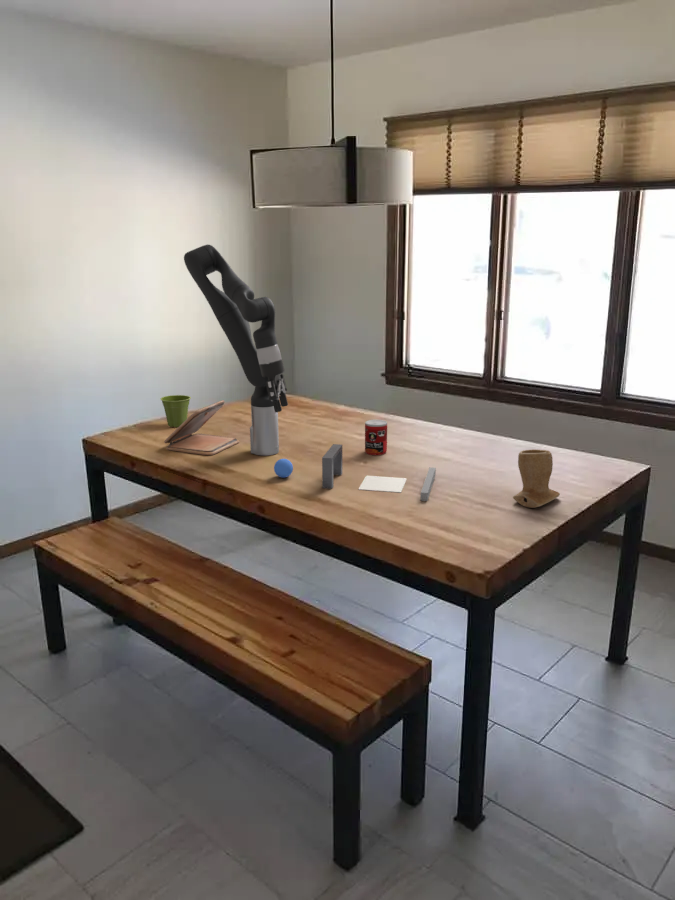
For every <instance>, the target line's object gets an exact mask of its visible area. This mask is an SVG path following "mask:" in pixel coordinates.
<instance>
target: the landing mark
mask: <svg viewBox="0 0 675 900" xmlns="http://www.w3.org/2000/svg"><path fill="white" fill-rule="evenodd" d="M406 482H407V478H405V477H392V476H378V475H377V476H376V475H366V476H365V477H364V479H363V481H362V482H361V483H360V485H359V487H358V490H359V491H360V490H362V491H373V492H374V491H375V492H385V493H386V492H388V493H398V494H399V493H402V491H403V489H404V487H405V485H406Z"/></svg>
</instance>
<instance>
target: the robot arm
mask: <svg viewBox="0 0 675 900" xmlns="http://www.w3.org/2000/svg"><path fill="white" fill-rule="evenodd" d="M183 262H184V264H185V267H186V269H187V271H188V272H189V275H190V276H191V277H192V280H193V281H194V283H196V285H197V287H198V288H199V290H200V291H201V293H202V295H203V296H204V298H205V300H206V301H207V303H208V304H209V307H210V308H211V310H212V313H213V314H214V316H215V318H216V321H217V322H218V324H219V325H220V328H221V329H222V331H223V333H224V334H225V336H226V337H227V340H228V342H229V344H230V345H231V347H232V348H233V351H234V352H235V355H236V356H237V359H238V361H239V363H240V366H241V368H242V371H243V373H244V375H245V377H246V379H247V380H248V382H249V384H250V385H252V386H253V387H254V391H253V393H252V395H251V397H250V412H251V413H250V414H251V415H250V416H251V417H250V419H251V426H249V438H250V439H249V442H250V443H249V444H250V454H254V455H255V456H256V455H257V456H272V455H276V454H279V452H280V450H279V449H280V445H279V443H280V442H279V441H280V439H279V436H280V435H279V413H281V412H282V407H283V408H284V407H288V405H289V404H288V398H287V395H286V394H287V391H288V387H287V384H286V381H285V375H284V374H283V373H285V367H284V361H283V359H282V354H281V351H280V347H279V344H278V341H277V336H276V331H275V330H276V308H275V305H274V302H273V301H272V299H271V298H269V297H268V296H262V297H258V298H255V292H254V290H253V289H252V288H251V287H250V286H249V285H247V284H246V282H245V281H243V280H242V279H241V278H240V277H239V276H238V275H237V274H236V273H235V272H234V270H233V269H232V267H231V266H230V265H229V263H228V262H227V261H226V260H225V258H224V257H223V256H222V254H221V253H220V252H219V251H218V249H216V248H215V246H213V245H212V244H205V245H202V246H199V247H197V248H194V249H192V250H190V251H187V252H186V253H184V255H183ZM214 272H218V273H219V274H220V276H221V286H222V288H221V289H222V290H220V288H218V287H217V286H216V285H215V284H213V282H212V281H211V280H210V279H209V277H208V275H210V274H212V273H214ZM257 322H261V324H260V327H259V328H258V329H255V330H254V331H253V334H252V330H251V326H250V323H257ZM252 337H253V338H252Z"/></svg>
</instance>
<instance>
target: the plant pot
mask: <svg viewBox="0 0 675 900" xmlns="http://www.w3.org/2000/svg"><path fill="white" fill-rule="evenodd" d="M191 398H192V397H191V396H190V395H184V394H175V395H174V394H173V395H165V396H162V397H161V398H160V401H162V402H161V403H162V407H163V408H164V413H165V417H166V418H165V419H166V421H167V426H168V427H170V428H172V427H174V428H178V427H179V426H180V425H181V424H182V423H183V422H184V421H185V420H186V419H187V418H188V412H189V405H190V400H191Z"/></svg>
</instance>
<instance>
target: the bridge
mask: <svg viewBox="0 0 675 900" xmlns="http://www.w3.org/2000/svg"><path fill="white" fill-rule="evenodd" d="M321 470H322V471H321V479H322V480H321V481H322V482H321V483H322V484H321V485H322V487H321V488H322V489H329V490H331V489H333V488H334V476H342V475H343V444H340V443H332V445H331V446H330V448H329V449H328V450H327V451H326V452H325V454H324V455H323V456H322V457H321Z"/></svg>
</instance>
